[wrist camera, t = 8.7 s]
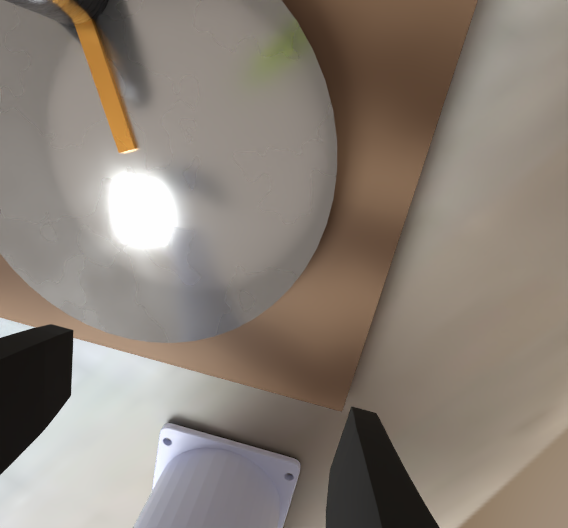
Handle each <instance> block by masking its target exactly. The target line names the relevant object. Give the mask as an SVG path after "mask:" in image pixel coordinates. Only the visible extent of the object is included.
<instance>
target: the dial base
mask: <svg viewBox="0 0 568 528" xmlns="http://www.w3.org/2000/svg"><path fill="white" fill-rule="evenodd" d="M282 1H283V3H284V4H285V5H286V7H287V8H288V10H289V11H290V12H291V14H292V15H293V16H294V18H295V19H296V20H297V22H298V24H299V25H300V27H301V29H302V31H303V33H304V34H305V36H306V38H307V40H308V42H309V43H310V45H311V47H312V49H313V51H314V53H315V56H316V58H317V61H318V63H319V66H320V68H321V71H322V73H323V76H324V78H325V81H326V85H327V88H328V92H329V96H330V100H331V104H332V108H333V112H334V119H335V127H336V135H337V175H336V183H335V191H334V198H333V202H332V206H331V210H330V214H329V217H328V221H327V225H326V227H325V230H324V232H323V235H322V237H321V239H320V242H319V244H318V247H317V249H316V251H315V253H314V254H313V256H312V258H311V259H310V261H309V263H308V265H307V266H306V268H305V270H304V271H303V272H302V274H301V275H300V276H299V278H298V279H297V280H296V281H295V283H294V284H293V285H292V286H291V288H290V289H289V290H288V291H287V292H286V293H285V294H284V295H283V296H282V297H281V298H280V299H279V300H278V301H277V302H276V303H275V304H273V305H272V306H271V307H270V308H268V309H267V310H265V311H264V312H263V313H261V314H260V315H259V316H257V317H256V318H254V319H253V320H251V321H249V322H247V323H245V324H243V325H241V326H239V327H238V328H236V329H233V330H231V331H228V332H225V333H222V334H220V335H217V336H214V337H210V338H205V339H201V340H196V341H189V342H178V343H157V342H145V341H139V340H133V339H127V338H124V337H120V336H117V335H113V334H109V333H106V332H104V331H101V330H99V329H96V328H94V327H91V326H89V325H87V324H85V323H83V322H81V321H79V320H77V319H75V318H73V317H72V316H70V315H68V314H66V313H65V312H63V311H62V310H60V309H59V308H57V307H56V306H54V305H53V304H51V303H50V302H48V301H47V300H46V299H45V298H43V297H42V296H41V295H40V294H39V293H37V292H36V291H35V290H34V289H33V288H31V287H30V286H29V285H28V284H27V283H26V282H25V281H24V280H23V279H22V278H21V277H20V276H19V275H18V274H17V273H16V272H15V271H14V270H13V269H12V267H11V266H10V265H9V264H8V263H7V261H6V260H5V259H4V258H3V256H2V255H1V254H0V318H4V319H8V320H11V321H15V322H19V323H22V324H26V325H29V326H33V327H40V326H45V325H49V324H53V325H57V326H60V327H64V328H68V329H71V330H73V338H77V339H80V340H84V341H87V342H91V343H95V344H98V345H102V346H106V347H109V348H113V349H116V350H120V351H124V352H127V353H131V354H135V355H138V356H142V357H145V358H149V359H153V360H156V361H160V362H164V363H167V364H171V365H174V366H178V367H182V368H185V369H189V370H193V371H196V372H200V373H203V374H207V375H211V376H214V377H218V378H222V379H225V380H229V381H232V382H236V383H240V384H243V385H247V386H251V387H254V388H258V389H261V390H265V391H269V392H272V393H276V394H280V395H283V396H287V397H290V398H294V399H298V400H301V401H305V402H309V403H312V404H316V405H319V406H323V407H327V408H330V409H334V410H338V411H341V412H342V410H343V407H344V404H345V401H346V398H347V395H348V392H349V389H350V386H351V383H352V380H353V377H354V374H355V371H356V368H357V365H358V362H359V359H360V356H361V353H362V350H363V347H364V344H365V341H366V338H367V335H368V332H369V329H370V326H371V323H372V320H373V317H374V314H375V310H376V307H377V304H378V301H379V298H380V295H381V292H382V289H383V286H384V283H385V280H386V277H387V274H388V271H389V268H390V265H391V262H392V259H393V256H394V253H395V250H396V247H397V244H398V241H399V238H400V235H401V232H402V229H403V226H404V223H405V220H406V217H407V214H408V210H409V207H410V204H411V201H412V198H413V195H414V192H415V189H416V186H417V183H418V180H419V177H420V174H421V171H422V168H423V165H424V162H425V159H426V156H427V153H428V150H429V147H430V144H431V141H432V138H433V135H434V132H435V129H436V126H437V123H438V120H439V117H440V114H441V110H442V107H443V104H444V101H445V98H446V95H447V92H448V89H449V86H450V83H451V80H452V77H453V74H454V71H455V68H456V65H457V62H458V59H459V56H460V53H461V50H462V47H463V44H464V41H465V38H466V35H467V32H468V29H469V26H470V23H471V20H472V17H473V14H474V10H475V7H476V4H477V1H478V0H282Z"/></svg>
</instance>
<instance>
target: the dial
mask: <svg viewBox="0 0 568 528" xmlns="http://www.w3.org/2000/svg"><path fill="white" fill-rule="evenodd" d="M336 175H337V135H336V127H335V119H334V112H333V108H332V104H331V100H330V96H329V92H328V88H327V85H326V81H325V78H324V76H323V73H322V71H321V68H320V66H319V63H318V61H317V58H316V56H315V53H314V51H313V49H312V47H311V45H310V43H309V42H308V40H307V38H306V36H305V34H304V33H303V31H302V29H301V27H300V25H299V24H298V22H297V20H296V19H295V18H294V16H293V15H292V14H291V12H290V11H289V10H288V8H287V7H286V5H285V4H284V3H283V1H282V0H0V254H1V255H2V256H3V258H4V259H5V260H6V261H7V263H8V264H9V265H10V266H11V267H12V269H13V270H14V271H15V272H16V273H17V274H18V275H19V276H20V277H21V278H22V279H23V280H24V281H25V282H26V283H27V284H28V285H29V286H30V287H31V288H33V289H34V290H35V291H36V292H37V293H39V294H40V295H41V296H42V297H43V298H45V299H46V300H47V301H48V302H50V303H51V304H53V305H54V306H56V307H57V308H59V309H60V310H62V311H63V312H65V313H66V314H68V315H70V316H72V317H73V318H75V319H77V320H79V321H81V322H83V323H85V324H87V325H89V326H91V327H94V328H96V329H99V330H101V331H104V332H106V333H109V334H113V335H117V336H120V337H124V338H127V339H133V340H139V341H145V342H157V343H178V342H189V341H196V340H201V339H205V338H210V337H214V336H217V335H220V334H222V333H225V332H228V331H231V330H233V329H236V328H238V327H239V326H241V325H243V324H245V323H247V322H249V321H251V320H253V319H254V318H256V317H257V316H259V315H260V314H261V313H263V312H264V311H265V310H267V309H268V308H270V307H271V306H272V305H273V304H275V303H276V302H277V301H278V300H279V299H280V298H281V297H282V296H283V295H284V294H285V293H286V292H287V291H288V290H289V289H290V288H291V286H292V285H293V284H294V283H295V281H296V280H297V279H298V278H299V276H300V275H301V274H302V272H303V271H304V270H305V268H306V266H307V265H308V263H309V261H310V259H311V258H312V256H313V254H314V253H315V251H316V249H317V247H318V244H319V242H320V239H321V237H322V235H323V232H324V230H325V227H326V225H327V221H328V217H329V214H330V210H331V206H332V202H333V198H334V191H335V183H336Z"/></svg>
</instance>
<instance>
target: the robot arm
mask: <svg viewBox="0 0 568 528" xmlns="http://www.w3.org/2000/svg"><path fill="white" fill-rule="evenodd" d="M72 354H73V330H71V329H68V328H64V327H60V326H57V325H53V324H49V325H45V326H40V327H36V328H33V329H29V330H26V331H22V332H19V333H15V334H12V335H9V336H5V337H2V338H0V475H1V474H2V473H3V472H4V471H5V470H6V469H7V468H8V467H9V466H10V465H11V464H12V463H13V462H14V461H15V460H16V459H17V458H18V457H19V455H20V454H21V453H22V452H23V451H24V450H25V449H26V448H27V447H28V446H29V445H30V444H31V443H32V442H33V441H34V440H35V439H36V438H37V437H38V436H39V435H40V434H41V433H42V432H43V431H44V430H45V428H46V427H47V426H48V425H49V423H50V422H51V421H52V420H53V418H54V417H55V416H56V415H57V413H58V412H59V411H60V409H61V408H62V407H63V405H64V404H65V403H66V401H67V400H68V399H69V397H70V396H71V379H72ZM167 438H169V439H170V440H168V439H167ZM300 468H301V464H300V462H299V461H298V460H297V459H294V458H291V457H288V456H284V455H281V454H277V453H274V452H270V451H267V450H263V449H260V448H256V447H253V446H249V445H246V444H242V443H239V442H235V441H232V440H228V439H225V438H221V437H218V436H214V435H211V434H207V433H204V432H200V431H197V430H193V429H190V428H186V427H183V426H179V425H176V424H172V423H167V424H165V425H163V427H162V429H161V431H160V436H159V443H158V451H157V458H156V465H155V472H154V479H153V486H152V492H151V494H150V496H149V498H148V500H147V502H146V504H145V505H144V507H143V509H142V511H141V513H140V515H139V517H138V519H137V521H136V522H135V524H134V526H133V528H283V526H284V523H285V519H286V516H287V513H288V510H289V506H290V503H291V500H292V496H293V493H294V490H295V487H296V483H297V480H298V477H299V473H300ZM287 473H290V474H292V475H288V474H287ZM326 528H439V526H438V524H437V523H436V521H435V520H434V518H433V516H432V515H431V513H430V511H429V510H428V508H427V506H426V505H425V503H424V501H423V500H422V498H421V496H420V494H419V493H418V491H417V489H416V487H415V486H414V484H413V482H412V480H411V478H410V477H409V475H408V473H407V471H406V469H405V468H404V466H403V464H402V462H401V460H400V458H399V456H398V454H397V452H396V451H395V449H394V447H393V445H392V443H391V441H390V439H389V437H388V435H387V433H386V431H385V429H384V427H383V425H382V423H381V421H380V419H379V417H378V415H377V414H376V413H373V412H370V411H366V410H362V409H359V408H355V407H351V410H350V413H349V416H348V418H347V421H346V424H345V427H344V430H343V433H342V436H341V439H340V442H339V445H338V448H337V451H336V454H335V457H334V460H333V463H332V466H331V469H330V476H329V486H328V496H327V507H326Z"/></svg>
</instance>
